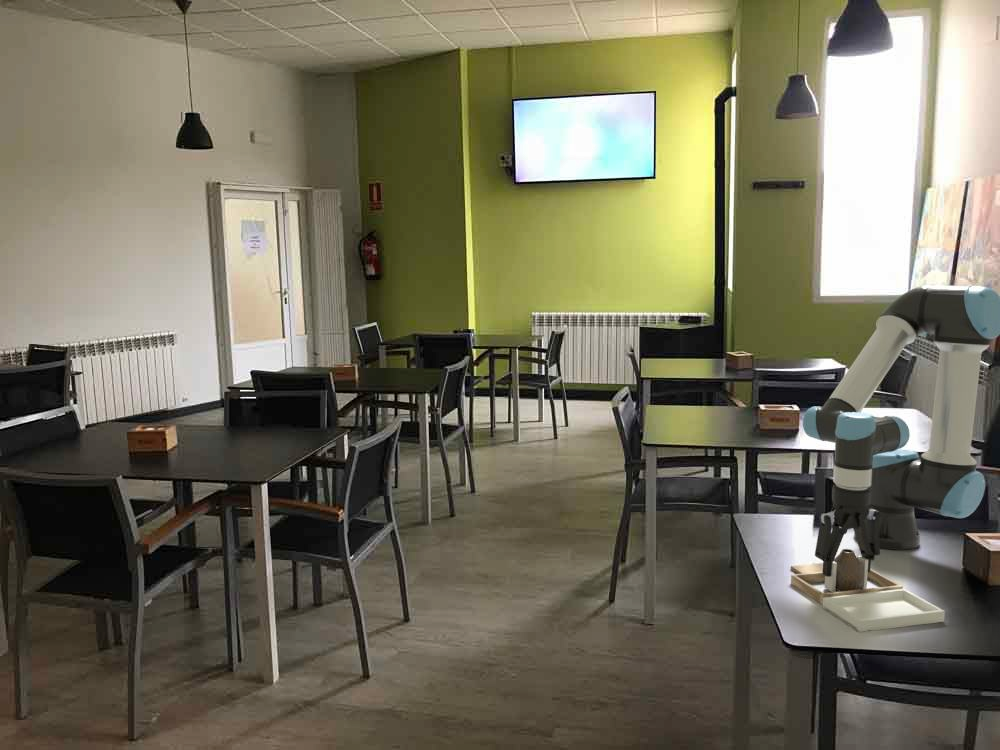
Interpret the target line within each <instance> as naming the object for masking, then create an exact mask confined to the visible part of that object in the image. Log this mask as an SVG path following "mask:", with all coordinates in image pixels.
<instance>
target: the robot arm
mask: <svg viewBox="0 0 1000 750" xmlns="http://www.w3.org/2000/svg"><path fill="white" fill-rule="evenodd" d="M875 326H876V329H875V330H874V332H873V334H872V335H871V337H870V338H869V339H868V341H867V342H866V343H865V345H864V346H863V348H862V350H861V351H860V353H859V354H858V355H857V357H856V359H855V360H854V361H853V363H852V364H851V366H850V367H849V369H848V370H847V372H846V373H845V374H844V376H843V377H842V379H841V380H840V382H839V383H838V385H837V386H836V387H835V389H834V390H833V392H832V393H831V395H830V396H829V398H828V399H827V400H826V402H825V403H824V404H823V405H822V406H821V405H820V406H819V405H818V406H815V405H814V406H811V407H810V408H808V409H807V410H806V411H805V413H804V414H803V415H804V416H803V419H802V428H803V431H804V433H805V434H806V436H808V437H810V438H813V439H816V440H819V441H821V442H829V443H834V444H835V445H834V461H833V463H834V464H833V475H832V476H833V478H832V481H833V483H834V484H833V485H832V491H831V500H832V508H831V509H830V512H827V513H823V512H819V514H818V520H819V529H818V533H817V539H816V545H815V550H814V551H815V552H814V556H815V557H816V558H817V559H819V560H822V563H823V574H824V575H825V581H824V587H823V588H824V589H826V590H828V591H829V592H830V593H832V592H836V588H835V586H836V570H837V563H836V562H834V559H835V558H836V557H837V553H838V550H839V548H840V547H841V546H840V545H841V543H842V540H843V538H844V535H845V534H847V532H848V530H851V529H853V530H854V533H853V536H854V538H855V539H856V542H857V544H858V548H859V552H860V555H856V557H857V558H858V560H859V561H860V562H861V564H862V567H863V570H864V579H863V583H862V585H861V587H860V589H861V588H862V589H868V588H867V586H868V577H867V574H868V572H870V569H871V565H872V561H874V560H875V559H876V556H880V554H881V549H886V550H897V551H898V550H904V551H905V550H913V549H915V548H918V547H920V545H921V544H920V542H921V535H920V534H921V533H920V532H919V528H918V524H917V521H916V516H915V509H920V510H924V511H927V512H931V513H934V514H939V515H941V516H944V517H952V518H955V519H964V518H967V517H969V516H971V514H973V513H974V512H975V511H976V510H977V508H978V506H979V505H980V504H981V501H982V499H983V497H984V495H985V490H986V480H985V476H984V475H983V473H981V472H980V471H978V470H976V469H977V460H976V459H975V458H974V457H973V456H972V455H971V448H972V439H973V432H974V421H975V413H976V405H977V403H976V402H977V394H978V385H979V380H980V379H979V378H980V369H981V360H982V353H983V352H984V351H986V350H987V349H988V348H989V347H990V346H991V340H992V339H996V338H998V337H999V336H1000V295H999V293H998V292H997V291H996V290H994V289H993V288H991V287H987V286H977V285H947V284H946V285H945V284H944V285H942V284H940V285H937V284H924V285H919V286H917V287H915V288H912V289H909V291H908V290H907V292H905V293H903V294H901V295H900V296H898V297H897V298H896V299H895V300H894V301H892V302H891V303H890V304H889V305H888V306H887V307H886V308H885V309H884V310H883V311H882V312H881V314H880V316H878V319H876V322H875ZM922 334H931V335H932V334H933V343H934V345H936V347H937V348H938V349H939V353H938V354H939V355H938V363H937V364H938V365H937V373H936V382H935V391H934V399H933V410H932V419H931V426H930V427H931V429H930V437H929V445H928V446H929V447H928V450H926V451H925V452H923V453H922V454H921V455H920V456H919V453H918V452H917V451H915V450H909V449H903V448H904V447H905V446H906V445H907V444H908V442H909V439H910V437H911V436H910V428H909V425H908V424H907V423H906V422H905V421H904V420H903V419H902V418H900V417H899V416H894V415H892V416H889V415H885V416H882V417H881V416H874V415H872V414H870V413H866V412H862V411H863V409H864V408H865V406H866V405H867V403H868V402H869V400H870V399H871V398H872V396H873V395H874V393H875V391H876V390H877V388H878V387H879V386H880V385H881V383H882V381H883V380H884V378H885V376H886V375H887V374H888V372H889V371H890V369H891V368H892V367H893V365H894V363H895V361H896V360H897V359H898V358H899V356H900V354H901V353H902V351H903V350H904V348H905V347H906V346H907V345H911V344H912V343H913V342H915V340H916V338H917V337H918V336H920V335H922Z"/></svg>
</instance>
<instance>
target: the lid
mask: <svg viewBox="0 0 1000 750" xmlns="http://www.w3.org/2000/svg"><path fill="white" fill-rule="evenodd" d="M790 570H791V571H792V572H794V573H795V574H803V573H813V572H823V562H820V563H809V564H808V563H807V564H800V565H799V564H798V565H791V566H790Z"/></svg>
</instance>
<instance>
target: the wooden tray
mask: <svg viewBox="0 0 1000 750" xmlns="http://www.w3.org/2000/svg"><path fill="white" fill-rule="evenodd" d="M867 579H870V580H871V581H873V582H874V583H876V584H879V587H869V588H867V589H863V588H862V589H861V588H859V589H858V590H850V591H835V592H826V593H825V592H824V593H823V591H820V590H819V589H818V588H816V587H815V586H813V585H811V584H812V583H820V582H821V583H822V582H825V575H824V574H823V572H813V573H803V574H797V573H795V574H791V575H790V584H791V585H792V586H794V587H796V588H797V589H799V590H800V591H802V592H803V593H805V594H806V595H808V596H809V597H811V598H812V599H813V600H815V601H816V602H819V604H821V605H823V598H825V597H834V596H843V595H852V594H861V593H870V592H879V591H888V590H897V589H904V585H903V586H902V585H901V584H899V583H897V582H896V581H894V580H892V579H890V578H888V577H886V576H885V575H883V574H881V573H880V572H877V571H875V570H874V569H872V568H870V572H868V574H867Z"/></svg>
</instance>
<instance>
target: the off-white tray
mask: <svg viewBox="0 0 1000 750" xmlns="http://www.w3.org/2000/svg"><path fill="white" fill-rule="evenodd" d="M822 609H824V610H825V611H826V612H828V613H830V614H831V615H832V616H834V617H835V618H837V619H838V620H839V621H841V622H843V624H846V625H847V626H849V627H851V628H852V629H854V630H855V631H856V630H857V631H856V632H858V633H860V632H861V633H862V632H869V631H868V630H871V631H877V630H887V629H895V628H904V627H910V626H919V625H927V624H934V623H944V622H945V616H946V615H945V614H946V613H945V612H946V611H945V610H944V609H942V608H940V607H939V606H937V605H934V604H933V603H931V602H929V601H927V600H926V599H924V598H922V597H920V596H918V595H916V594H915V593H913V592H912V591H909V590H908V589H905V588H903V589H897V590H888V591H879V592H870V593H861V594H852V595H843V596H834V597H825V598H823V604H822Z"/></svg>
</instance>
